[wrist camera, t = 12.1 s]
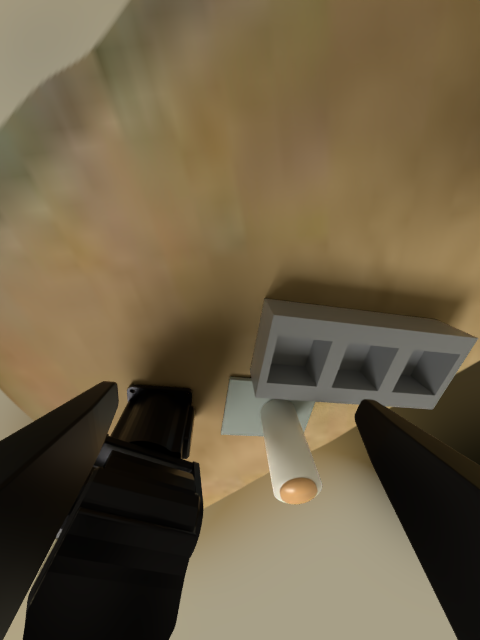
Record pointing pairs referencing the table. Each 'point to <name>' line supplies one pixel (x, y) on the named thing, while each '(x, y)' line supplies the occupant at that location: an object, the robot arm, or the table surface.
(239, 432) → the mat
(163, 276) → the table surface
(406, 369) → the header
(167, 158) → the table surface
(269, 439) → the plug
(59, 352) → the table surface
